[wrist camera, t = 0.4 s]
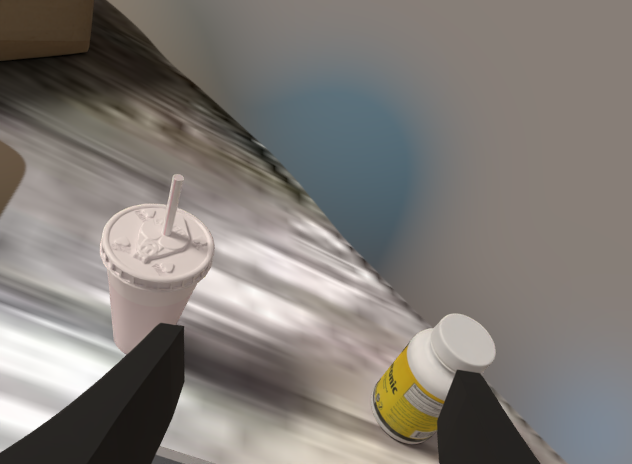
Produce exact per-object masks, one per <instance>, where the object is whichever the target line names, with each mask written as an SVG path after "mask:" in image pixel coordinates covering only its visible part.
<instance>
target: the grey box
mask: <svg viewBox="0 0 632 464" xmlns="http://www.w3.org/2000/svg"><path fill="white" fill-rule="evenodd" d="M151 464H214V463H211V462H208V461H205V460H202V459H199V458H196V457H192V456H189V455H186V454H183V453H180V452H177V451H174V450H171V449H167V448H164V447H161V446H159V448H158V450H157V453H156V455H155V457H154V459H153V461H152V463H151Z"/></svg>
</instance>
